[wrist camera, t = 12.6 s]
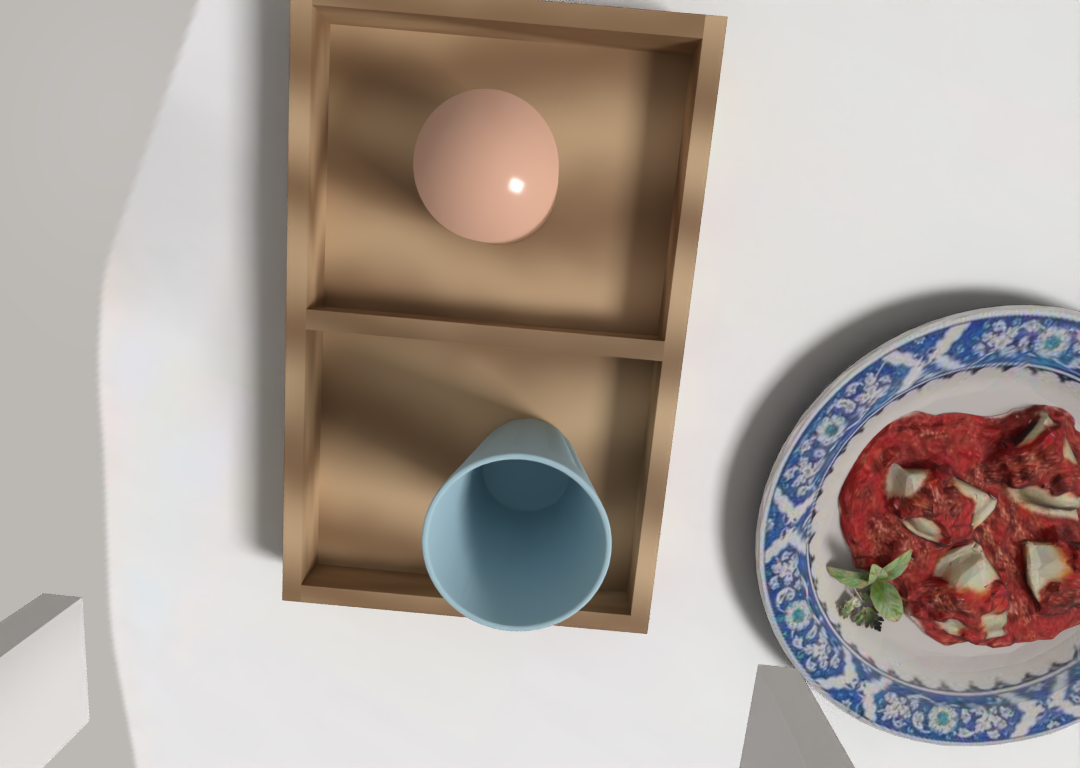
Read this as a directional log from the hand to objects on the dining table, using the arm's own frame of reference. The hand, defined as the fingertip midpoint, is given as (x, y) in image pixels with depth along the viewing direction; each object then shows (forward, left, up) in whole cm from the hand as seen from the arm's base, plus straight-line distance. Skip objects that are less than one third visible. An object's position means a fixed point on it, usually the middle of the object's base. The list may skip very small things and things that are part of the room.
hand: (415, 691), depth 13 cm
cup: (+3, +1, -24) cm, 24 cm away
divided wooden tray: (-4, -1, -25) cm, 25 cm away
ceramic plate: (+5, +27, -25) cm, 37 cm away
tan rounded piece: (-12, -1, -24) cm, 26 cm away
